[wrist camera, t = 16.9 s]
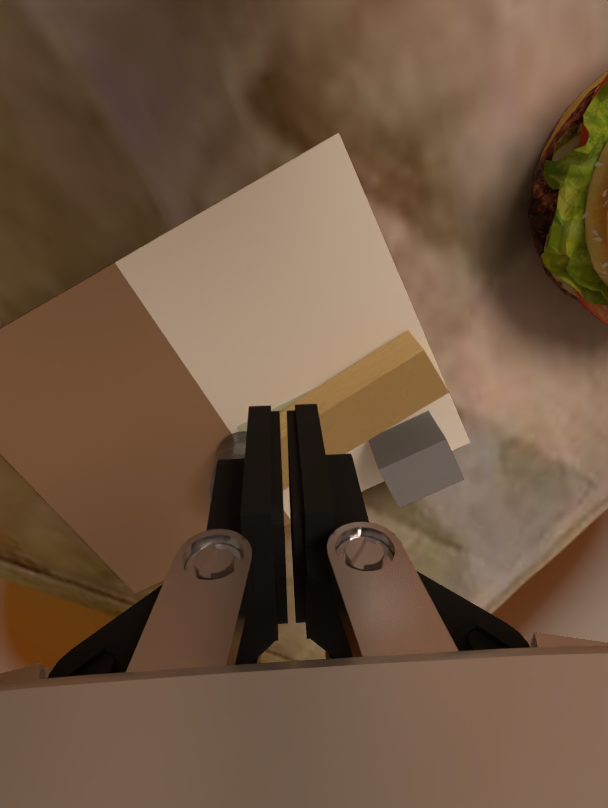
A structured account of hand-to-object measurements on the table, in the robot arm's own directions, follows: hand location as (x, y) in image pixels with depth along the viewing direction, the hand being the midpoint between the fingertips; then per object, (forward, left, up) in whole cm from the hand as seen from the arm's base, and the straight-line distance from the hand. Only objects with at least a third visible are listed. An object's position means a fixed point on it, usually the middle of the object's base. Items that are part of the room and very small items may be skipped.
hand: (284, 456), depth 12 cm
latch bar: (+1, +7, -15) cm, 17 cm away
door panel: (+6, +4, -17) cm, 18 cm away
